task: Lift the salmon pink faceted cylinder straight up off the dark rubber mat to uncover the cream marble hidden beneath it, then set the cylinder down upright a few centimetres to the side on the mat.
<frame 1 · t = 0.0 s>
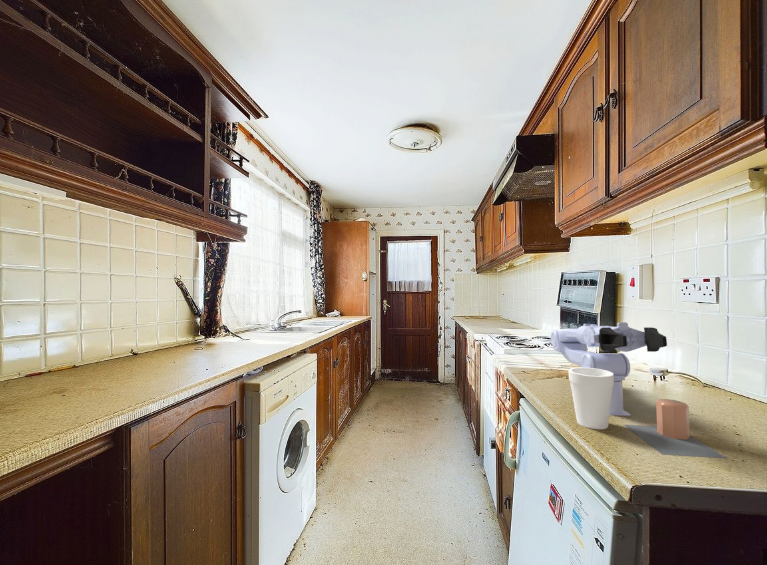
hand: (644, 341, 73), 22 cm above the countertop, tool horizontal, fingers open, 7 cm apart
salmon pink faceted cylinder: (672, 418, 76), on the mat
marble: (673, 427, 76), in the salmon pink faceted cylinder, touching mat
foam cup: (592, 426, 82), on the countertop
mat: (669, 441, 73), on the countertop
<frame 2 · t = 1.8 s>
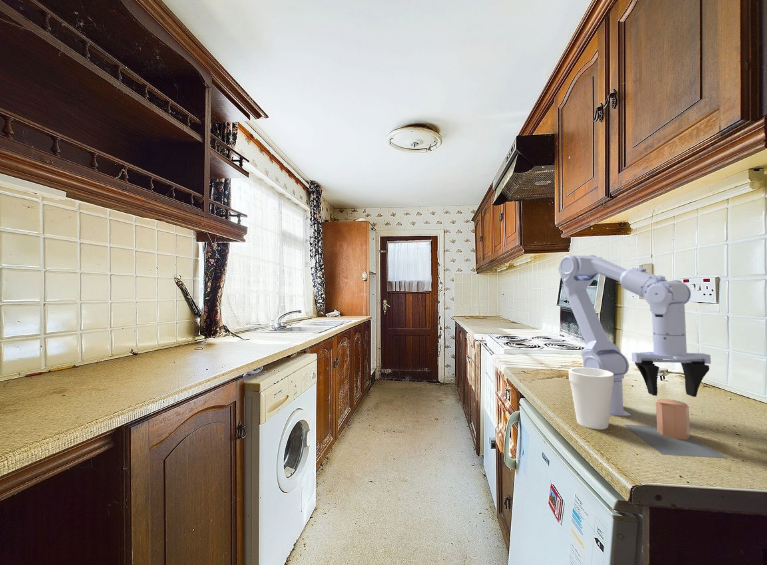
hand: (671, 395, 76), 9 cm above the countertop, tool pointing down, fingers open, 7 cm apart
nothing on the countertop moved.
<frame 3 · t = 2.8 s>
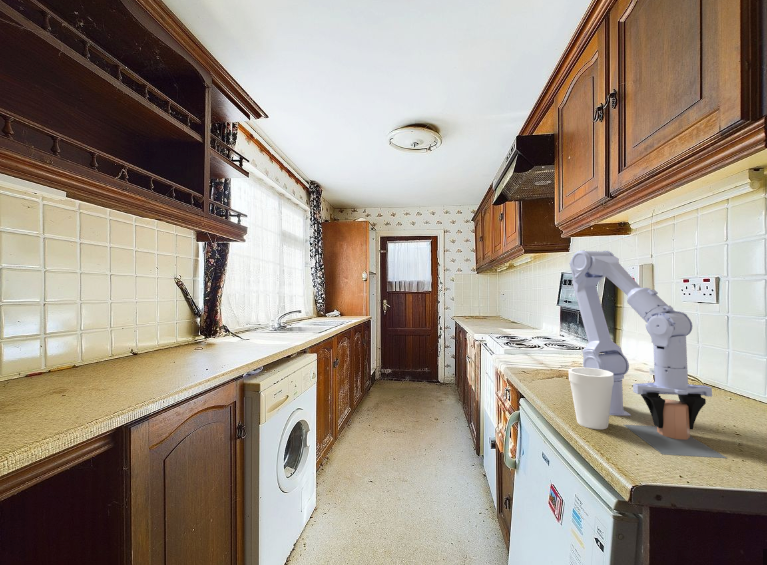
hand: (672, 427, 76), 2 cm above the countertop, tool pointing down, fingers closed on salmon pink faceted cylinder, 5 cm apart
salmon pink faceted cylinder: (672, 418, 76), on the mat, touching gripper
everything else where it was.
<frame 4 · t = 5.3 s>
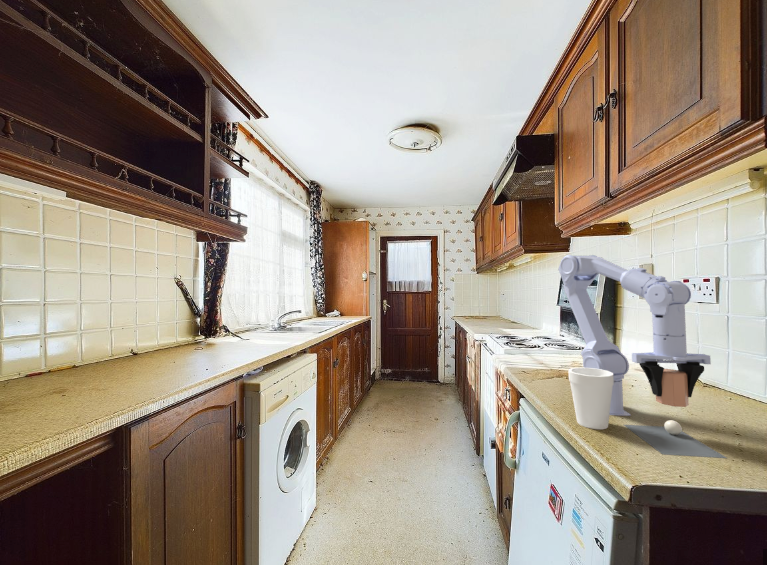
hand: (671, 395, 76), 9 cm above the countertop, tool pointing down, fingers closed on salmon pink faceted cylinder, 5 cm apart
salmon pink faceted cylinder: (671, 387, 76), point 11 cm above the countertop, touching gripper
everything else where it was.
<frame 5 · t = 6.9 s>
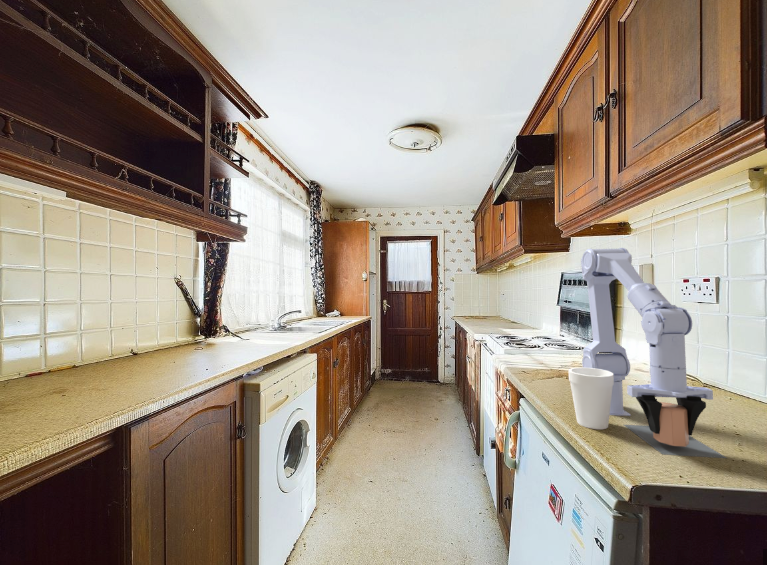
hand: (670, 432, 70), 3 cm above the countertop, tool pointing down, fingers closed on salmon pink faceted cylinder, 5 cm apart
salmon pink faceted cylinder: (670, 423, 70), point 5 cm above the countertop, touching gripper
everything else where it was.
when the fingers open (3 cm above the countertop, at t = 7.9 s): salmon pink faceted cylinder drops 1 cm, resting on mat.
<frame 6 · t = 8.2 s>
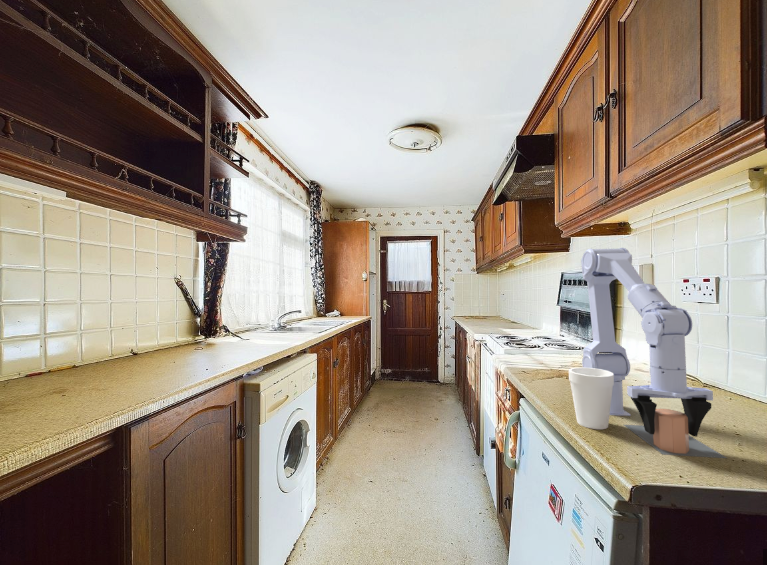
hand: (670, 433, 70), 3 cm above the countertop, tool pointing down, fingers open, 7 cm apart
salmon pink faceted cylinder: (670, 430, 70), on the mat
everything else where it was.
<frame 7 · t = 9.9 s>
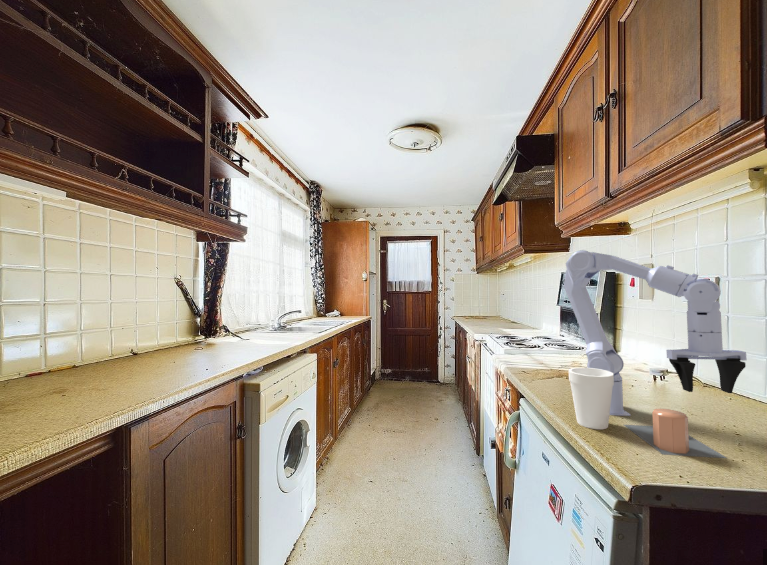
hand: (707, 391, 77), 9 cm above the countertop, tool pointing down, fingers open, 7 cm apart
nothing on the countertop moved.
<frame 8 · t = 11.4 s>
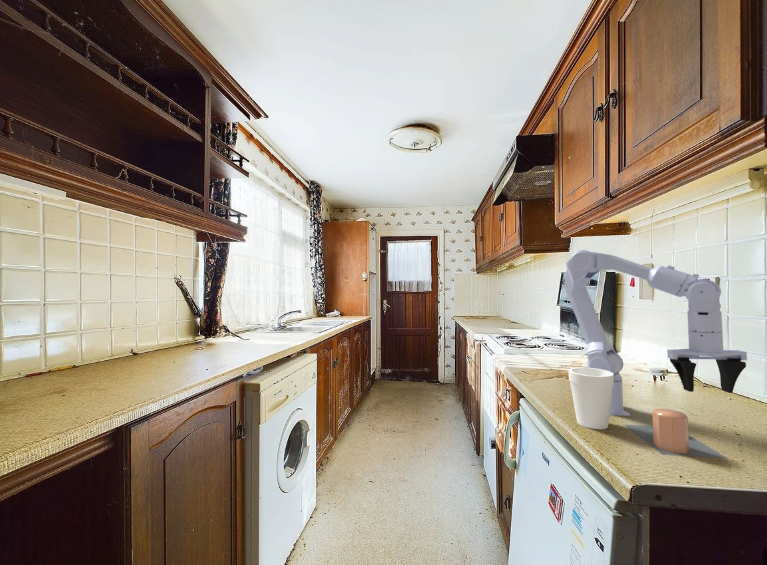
hand: (707, 391, 77), 9 cm above the countertop, tool pointing down, fingers open, 7 cm apart
nothing on the countertop moved.
at the end: salmon pink faceted cylinder 0.0 cm from the target spot, resting on mat; salmon pink faceted cylinder tilted 0°; the gripper is holding nothing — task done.
